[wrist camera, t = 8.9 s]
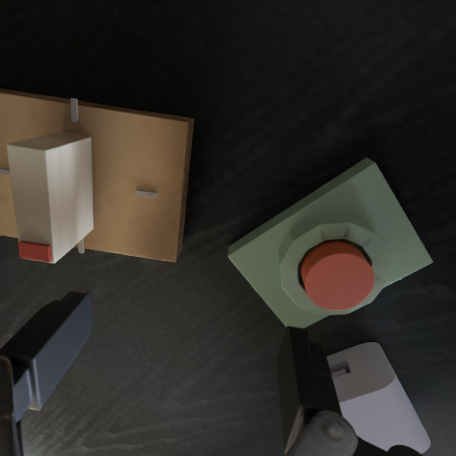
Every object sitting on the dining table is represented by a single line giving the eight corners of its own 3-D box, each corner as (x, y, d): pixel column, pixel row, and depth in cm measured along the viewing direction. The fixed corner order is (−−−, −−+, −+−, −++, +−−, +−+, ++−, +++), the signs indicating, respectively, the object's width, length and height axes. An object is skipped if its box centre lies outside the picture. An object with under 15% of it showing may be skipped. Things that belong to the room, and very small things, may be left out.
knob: (60, 131, 20) (1, 144, 15) (91, 136, 20) (42, 150, 15) (66, 224, 23) (17, 260, 18) (94, 229, 23) (52, 266, 18)
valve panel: (194, 113, 22) (187, 116, 19) (181, 251, 26) (174, 267, 24) (-9, 81, 22) (-42, 80, 19) (11, 224, 26) (-13, 238, 24)
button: (346, 228, 21) (353, 240, 19) (377, 276, 22) (387, 290, 21) (288, 262, 22) (292, 275, 21) (321, 305, 24) (326, 320, 22)
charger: (344, 462, 35) (282, 372, 31) (429, 438, 33) (376, 337, 28) (358, 514, 31) (287, 419, 26) (457, 491, 29) (399, 382, 24)
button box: (366, 157, 22) (386, 168, 19) (422, 251, 25) (447, 275, 22) (228, 246, 26) (225, 268, 22) (289, 321, 28) (294, 350, 25)
